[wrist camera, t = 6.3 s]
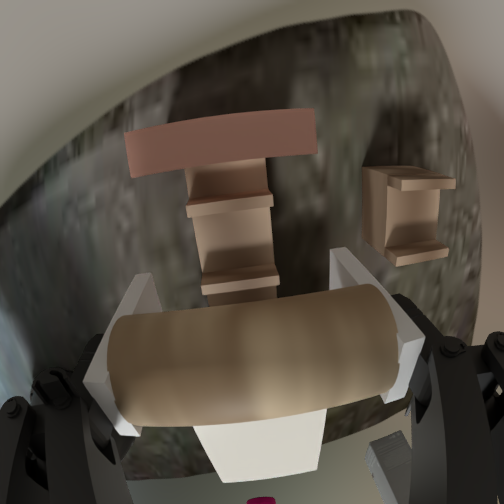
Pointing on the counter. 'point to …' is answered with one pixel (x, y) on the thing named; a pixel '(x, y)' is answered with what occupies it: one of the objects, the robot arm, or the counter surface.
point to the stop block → (221, 140)
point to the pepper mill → (262, 500)
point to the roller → (253, 358)
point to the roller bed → (233, 231)
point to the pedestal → (403, 212)
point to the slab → (264, 446)
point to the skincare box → (391, 467)
